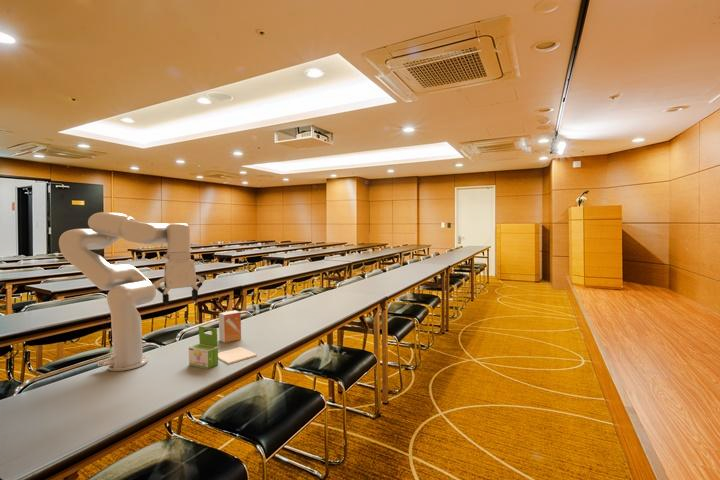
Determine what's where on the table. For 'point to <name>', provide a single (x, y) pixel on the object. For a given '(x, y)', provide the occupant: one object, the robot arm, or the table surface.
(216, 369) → the table surface
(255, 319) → the table surface
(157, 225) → the robot arm
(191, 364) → the ink box
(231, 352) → the mat
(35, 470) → the table surface
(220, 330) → the small box
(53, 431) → the table surface
